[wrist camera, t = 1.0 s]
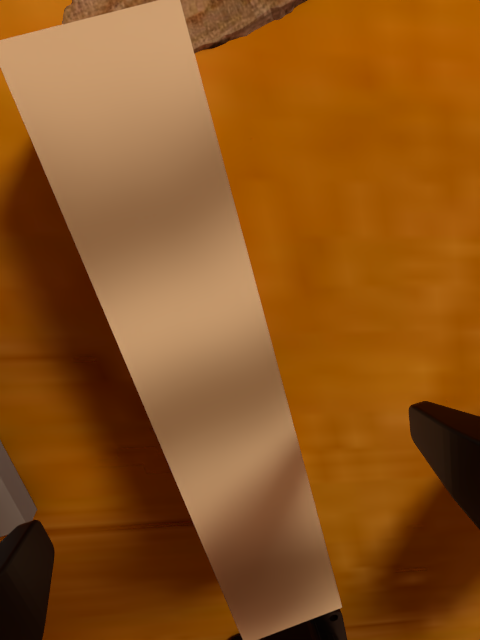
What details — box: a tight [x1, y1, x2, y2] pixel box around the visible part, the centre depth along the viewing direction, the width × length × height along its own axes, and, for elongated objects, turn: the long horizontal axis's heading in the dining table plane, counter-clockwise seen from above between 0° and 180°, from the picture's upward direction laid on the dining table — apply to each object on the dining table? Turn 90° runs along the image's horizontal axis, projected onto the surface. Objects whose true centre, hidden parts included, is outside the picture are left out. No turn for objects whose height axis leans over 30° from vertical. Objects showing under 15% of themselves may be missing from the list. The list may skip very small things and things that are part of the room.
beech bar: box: [0, 0, 342, 640], centre depth 14 cm, size 20×4×5 cm, turn 15°
